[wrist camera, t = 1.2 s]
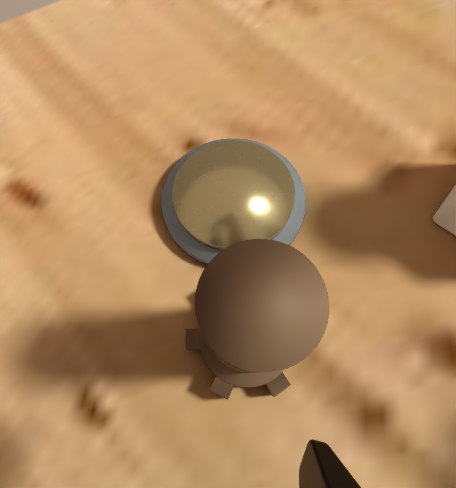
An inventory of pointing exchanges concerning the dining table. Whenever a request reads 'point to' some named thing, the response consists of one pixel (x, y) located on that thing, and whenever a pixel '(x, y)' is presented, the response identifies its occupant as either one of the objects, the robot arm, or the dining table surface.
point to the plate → (208, 254)
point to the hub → (233, 194)
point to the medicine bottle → (447, 213)
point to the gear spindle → (257, 314)
